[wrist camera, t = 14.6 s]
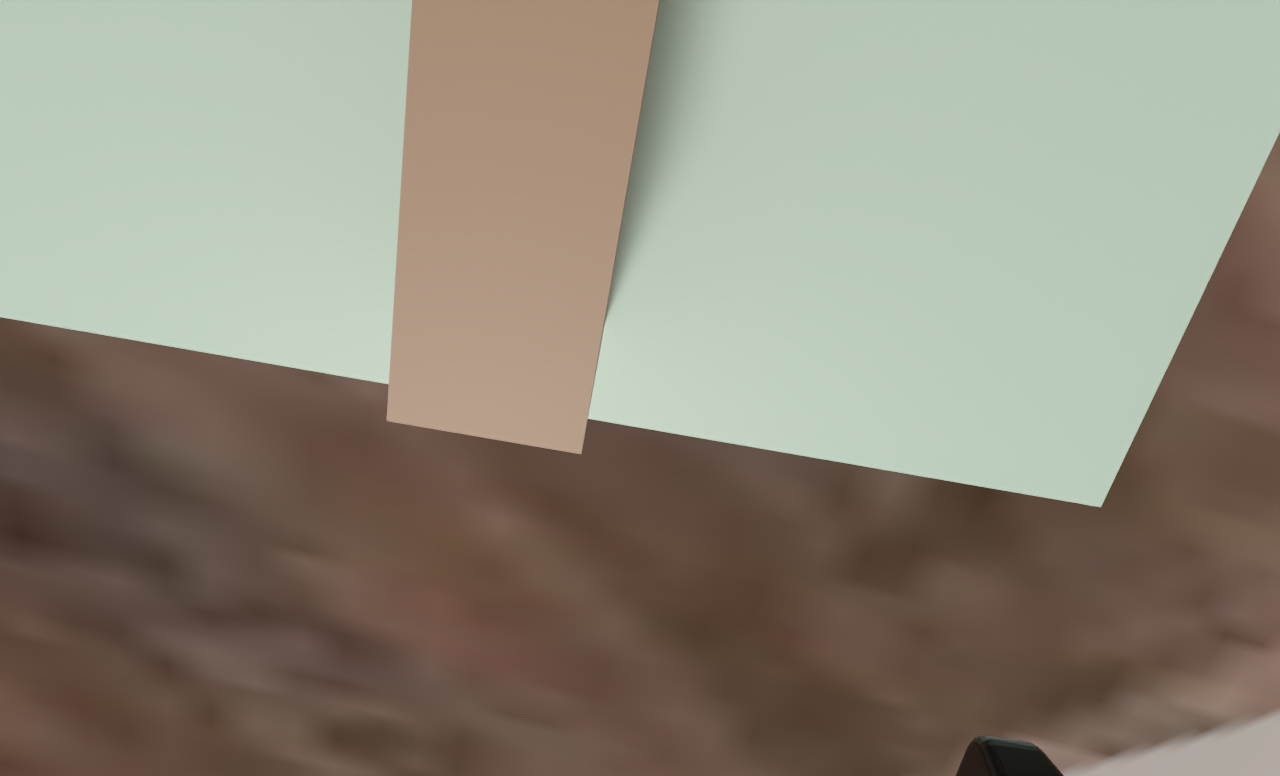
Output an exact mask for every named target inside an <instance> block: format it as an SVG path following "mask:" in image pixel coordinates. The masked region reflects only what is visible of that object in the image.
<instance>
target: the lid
mask: <svg viewBox="0 0 1280 776" xmlns="http://www.w3.org/2000/svg"><path fill="white" fill-rule="evenodd" d="M1279 132H1280V0H0V317H3V318H9V319H15V320H20V321H26V322H32V323H38V324H44V325H49V326H55V327H61V328H67V329H73V330H78V331H84V332H90V333H96V334H102V335H107V336H113V337H119V338H125V339H130V340H136V341H142V342H148V343H154V344H159V345H165V346H171V347H177V348H183V349H188V350H194V351H200V352H206V353H211V354H217V355H223V356H229V357H235V358H240V359H246V360H252V361H258V362H264V363H269V364H275V365H281V366H287V367H292V368H298V369H304V370H310V371H316V372H321V373H327V374H333V375H339V376H345V377H350V378H356V379H362V380H368V381H373V382H379V383H385V384H389V390H388V406H387V421H390V422H396V423H402V424H408V425H414V426H419V427H425V428H431V429H437V430H443V431H449V432H454V433H460V434H466V435H472V436H478V437H484V438H489V439H495V440H501V441H507V442H513V443H518V444H524V445H530V446H536V447H542V448H548V449H553V450H559V451H565V452H571V453H577V454H581V453H582V447H583V442H584V436H585V431H586V425H587V420H588V419H593V420H599V421H605V422H611V423H617V424H622V425H628V426H634V427H640V428H645V429H651V430H657V431H663V432H669V433H674V434H680V435H686V436H692V437H698V438H703V439H709V440H715V441H721V442H726V443H732V444H738V445H744V446H750V447H755V448H761V449H767V450H773V451H779V452H784V453H790V454H796V455H802V456H808V457H813V458H819V459H825V460H831V461H836V462H842V463H848V464H854V465H860V466H865V467H871V468H877V469H883V470H889V471H894V472H900V473H906V474H912V475H917V476H923V477H929V478H935V479H941V480H946V481H952V482H958V483H964V484H970V485H975V486H981V487H987V488H993V489H998V490H1004V491H1010V492H1016V493H1022V494H1027V495H1033V496H1039V497H1045V498H1051V499H1056V500H1062V501H1068V502H1074V503H1079V504H1085V505H1091V506H1097V507H1101V506H1102V504H1103V501H1104V499H1105V497H1106V495H1107V493H1108V491H1109V489H1110V487H1111V485H1112V483H1113V481H1114V478H1115V476H1116V474H1117V472H1118V470H1119V468H1120V466H1121V464H1122V462H1123V460H1124V457H1125V455H1126V453H1127V451H1128V449H1129V447H1130V445H1131V443H1132V441H1133V439H1134V436H1135V434H1136V432H1137V430H1138V428H1139V426H1140V424H1141V422H1142V420H1143V418H1144V416H1145V413H1146V411H1147V409H1148V407H1149V405H1150V403H1151V401H1152V399H1153V397H1154V395H1155V392H1156V390H1157V388H1158V386H1159V384H1160V382H1161V380H1162V378H1163V376H1164V374H1165V371H1166V369H1167V367H1168V365H1169V363H1170V361H1171V359H1172V357H1173V355H1174V353H1175V351H1176V348H1177V346H1178V344H1179V342H1180V340H1181V338H1182V336H1183V334H1184V332H1185V330H1186V327H1187V325H1188V323H1189V321H1190V319H1191V317H1192V315H1193V313H1194V311H1195V309H1196V307H1197V304H1198V302H1199V300H1200V298H1201V296H1202V294H1203V292H1204V290H1205V288H1206V286H1207V283H1208V281H1209V279H1210V277H1211V275H1212V273H1213V271H1214V269H1215V267H1216V265H1217V262H1218V260H1219V258H1220V256H1221V254H1222V252H1223V250H1224V248H1225V246H1226V244H1227V242H1228V239H1229V237H1230V235H1231V233H1232V231H1233V229H1234V227H1235V225H1236V223H1237V221H1238V218H1239V216H1240V214H1241V212H1242V210H1243V208H1244V206H1245V204H1246V202H1247V200H1248V197H1249V195H1250V193H1251V191H1252V189H1253V187H1254V185H1255V183H1256V181H1257V179H1258V177H1259V174H1260V172H1261V170H1262V168H1263V166H1264V164H1265V162H1266V160H1267V158H1268V156H1269V153H1270V151H1271V149H1272V147H1273V145H1274V143H1275V141H1276V139H1277V137H1278V135H1279Z"/></svg>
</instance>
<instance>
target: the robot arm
mask: <svg viewBox="0 0 1280 776" xmlns="http://www.w3.org/2000/svg"><path fill="white" fill-rule="evenodd" d="M956 776H1063V774H1062V773H1061V772H1060V771H1059V770H1058V769H1057V767H1056V766H1055V765H1054V764H1053V763H1052V762H1051V760H1050V759H1049V758H1048V757H1047V756H1046V755H1045V753H1044V752H1043V751H1042V750H1041V749H1039V748H1038V747H1037V746H1035V745H1034V744H1032V743H1030V742H1027V741H1021V740H1014V739H1007V738H1000V737H993V736H986V735H984V736H978V737H976V738H975V739H974V740H973V741H972V742H971V743H970V744H969V746H968V748H967V750H966V752H965V755H964V757H963V759H962V762H961V764H960V767H959V769H958V771H957V774H956Z"/></svg>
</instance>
